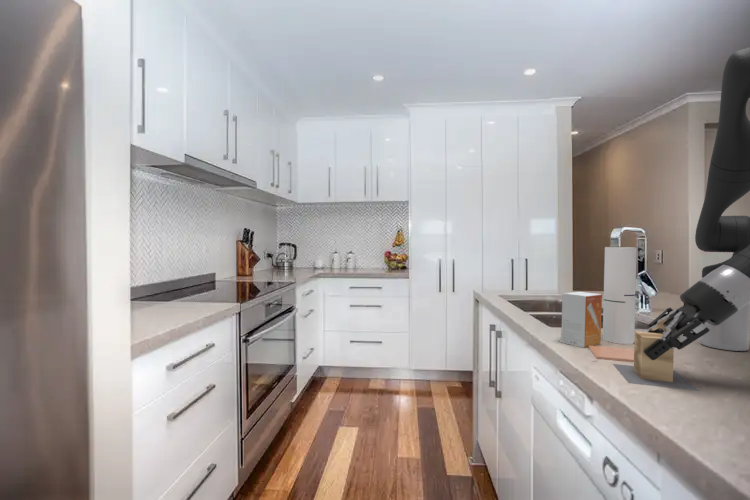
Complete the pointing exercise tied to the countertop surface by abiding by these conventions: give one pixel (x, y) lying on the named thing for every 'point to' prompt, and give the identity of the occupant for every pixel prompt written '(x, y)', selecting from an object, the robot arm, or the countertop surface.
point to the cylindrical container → (619, 294)
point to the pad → (612, 353)
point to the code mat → (634, 378)
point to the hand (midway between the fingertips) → (642, 351)
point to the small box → (581, 319)
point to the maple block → (652, 368)
